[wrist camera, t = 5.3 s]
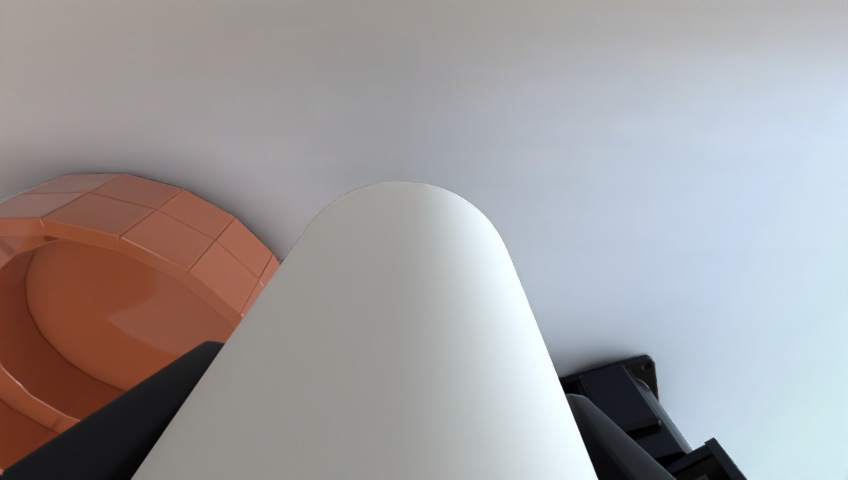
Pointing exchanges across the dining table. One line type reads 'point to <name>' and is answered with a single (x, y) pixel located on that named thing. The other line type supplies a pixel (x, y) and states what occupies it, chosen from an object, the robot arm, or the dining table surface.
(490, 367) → the can
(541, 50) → the dining table surface
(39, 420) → the bowl
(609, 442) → the robot arm
